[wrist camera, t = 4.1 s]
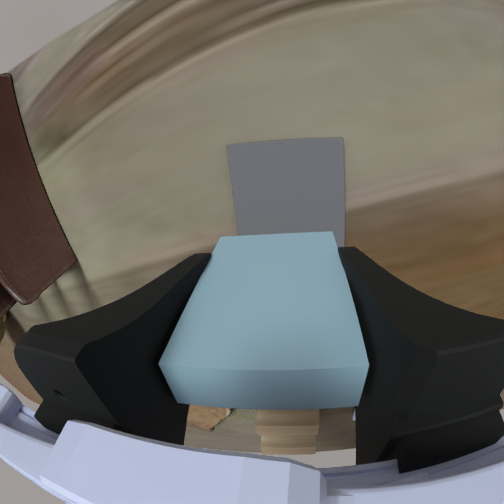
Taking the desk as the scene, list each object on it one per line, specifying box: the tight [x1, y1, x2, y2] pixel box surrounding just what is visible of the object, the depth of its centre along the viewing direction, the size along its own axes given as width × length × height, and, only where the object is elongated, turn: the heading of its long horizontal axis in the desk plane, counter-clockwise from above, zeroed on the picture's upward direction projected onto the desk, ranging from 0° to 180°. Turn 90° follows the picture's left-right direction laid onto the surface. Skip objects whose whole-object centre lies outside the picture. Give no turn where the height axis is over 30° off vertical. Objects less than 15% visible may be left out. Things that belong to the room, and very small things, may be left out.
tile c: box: [256, 409, 320, 436], centre depth 22 cm, size 2×5×7 cm, turn 97°
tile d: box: [260, 435, 316, 455], centre depth 23 cm, size 2×5×7 cm, turn 96°
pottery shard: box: [186, 404, 231, 432], centre depth 29 cm, size 8×16×2 cm, turn 157°
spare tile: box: [159, 231, 369, 410], centre depth 9 cm, size 2×5×7 cm, turn 96°
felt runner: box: [226, 137, 345, 247], centre depth 22 cm, size 7×26×1 cm, turn 6°
